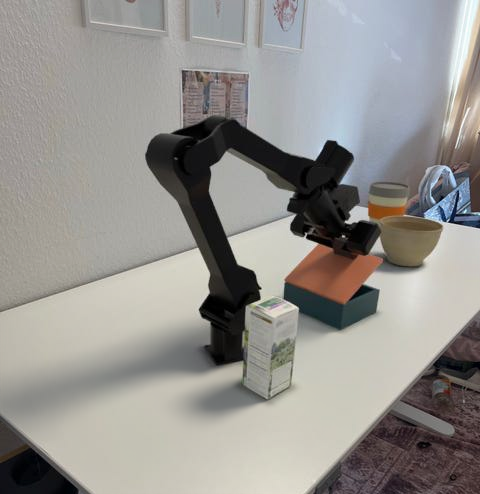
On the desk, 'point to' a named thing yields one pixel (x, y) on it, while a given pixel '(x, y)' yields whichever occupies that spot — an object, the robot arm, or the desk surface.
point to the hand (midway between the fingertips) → (347, 251)
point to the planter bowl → (409, 239)
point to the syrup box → (269, 345)
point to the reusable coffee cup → (387, 200)
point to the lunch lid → (333, 272)
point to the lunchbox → (334, 305)
